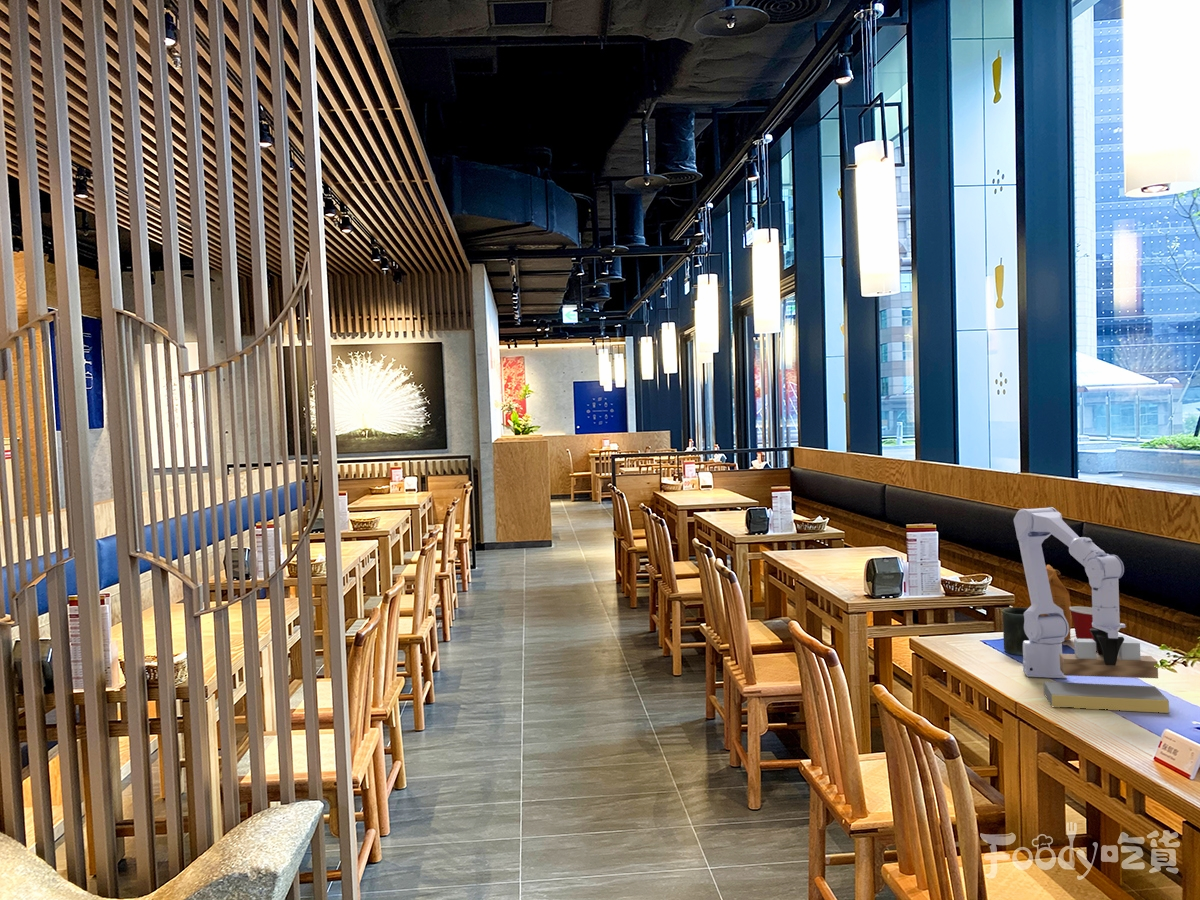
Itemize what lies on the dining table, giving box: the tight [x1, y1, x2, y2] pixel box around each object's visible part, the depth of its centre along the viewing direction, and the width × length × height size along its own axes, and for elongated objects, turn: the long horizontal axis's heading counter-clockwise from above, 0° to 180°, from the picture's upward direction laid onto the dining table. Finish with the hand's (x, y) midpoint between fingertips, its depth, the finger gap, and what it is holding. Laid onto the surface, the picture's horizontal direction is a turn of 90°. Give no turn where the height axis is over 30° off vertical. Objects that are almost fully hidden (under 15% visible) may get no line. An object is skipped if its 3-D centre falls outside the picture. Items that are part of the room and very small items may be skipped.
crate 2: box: [1118, 638, 1141, 660], centre depth 218 cm, size 4×4×4 cm
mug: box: [1000, 606, 1041, 656], centre depth 265 cm, size 11×15×12 cm
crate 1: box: [1073, 638, 1098, 659], centre depth 220 cm, size 4×4×4 cm
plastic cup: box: [1069, 606, 1097, 651], centre depth 263 cm, size 11×11×12 cm
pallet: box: [1059, 653, 1159, 679], centre depth 219 cm, size 20×6×4 cm, turn 73°
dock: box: [1043, 681, 1170, 714], centre depth 214 cm, size 24×11×3 cm, turn 72°
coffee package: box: [1041, 564, 1073, 641], centre depth 279 cm, size 10×12×22 cm
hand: (1107, 661), depth 219 cm, fingers closed on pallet, 6 cm apart
